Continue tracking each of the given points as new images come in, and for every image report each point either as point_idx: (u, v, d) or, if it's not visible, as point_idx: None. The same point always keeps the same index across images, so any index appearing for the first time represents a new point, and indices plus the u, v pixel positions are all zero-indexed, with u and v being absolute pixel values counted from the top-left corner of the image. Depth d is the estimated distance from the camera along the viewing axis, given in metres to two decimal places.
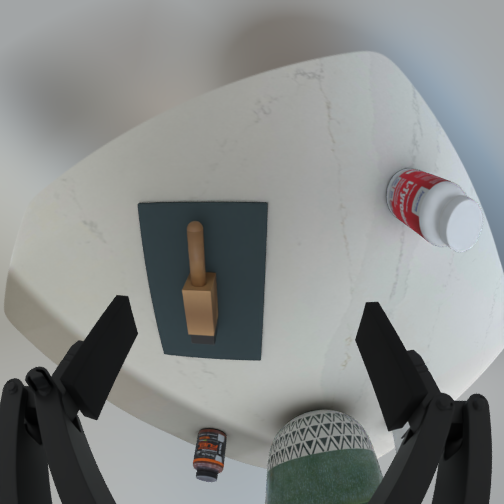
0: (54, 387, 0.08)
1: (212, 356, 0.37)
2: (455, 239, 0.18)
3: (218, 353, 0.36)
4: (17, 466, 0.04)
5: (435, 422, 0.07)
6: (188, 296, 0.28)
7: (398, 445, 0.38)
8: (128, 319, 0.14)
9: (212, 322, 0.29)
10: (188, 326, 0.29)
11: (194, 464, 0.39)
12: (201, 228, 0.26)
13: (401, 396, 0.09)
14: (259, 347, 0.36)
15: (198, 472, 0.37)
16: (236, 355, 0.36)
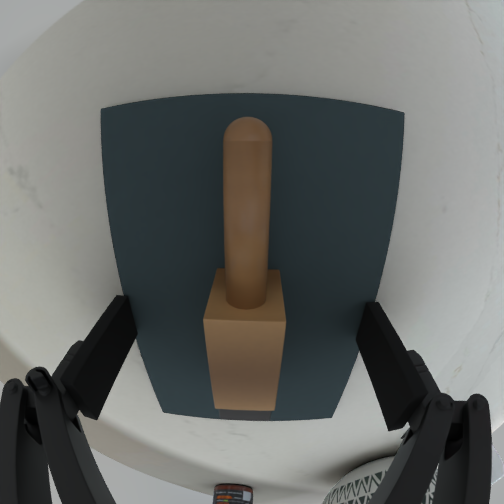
0: (54, 387, 0.08)
1: None
2: None
3: None
4: (17, 466, 0.04)
5: (435, 422, 0.07)
6: (220, 335, 0.10)
7: None
8: (128, 319, 0.14)
9: (276, 388, 0.11)
10: (216, 396, 0.12)
11: None
12: (270, 135, 0.08)
13: (401, 396, 0.09)
14: (336, 401, 0.18)
15: None
16: (293, 414, 0.19)
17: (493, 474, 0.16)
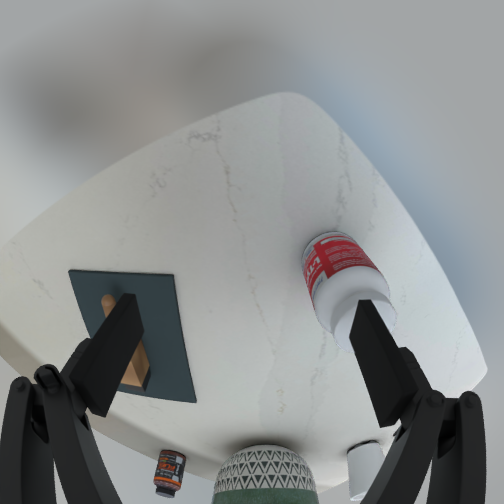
0: (63, 385, 0.08)
1: (153, 396, 0.36)
2: (349, 342, 0.17)
3: (158, 394, 0.36)
4: (22, 465, 0.04)
5: (426, 419, 0.07)
6: None
7: (350, 479, 0.38)
8: (135, 317, 0.14)
9: (136, 376, 0.29)
10: None
11: (154, 481, 0.38)
12: (112, 302, 0.26)
13: (392, 392, 0.09)
14: (192, 393, 0.35)
15: (157, 489, 0.37)
16: (173, 397, 0.36)
17: None
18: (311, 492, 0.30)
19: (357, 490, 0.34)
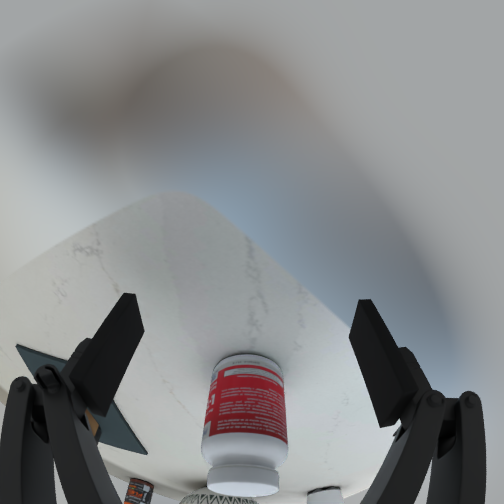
0: (63, 385, 0.08)
1: (110, 444, 0.32)
2: (228, 493, 0.13)
3: (113, 444, 0.32)
4: (22, 465, 0.04)
5: (426, 419, 0.07)
6: None
7: None
8: (135, 317, 0.14)
9: None
10: None
11: None
12: None
13: (392, 392, 0.09)
14: (141, 448, 0.31)
15: None
16: (126, 448, 0.32)
17: None
18: None
19: None
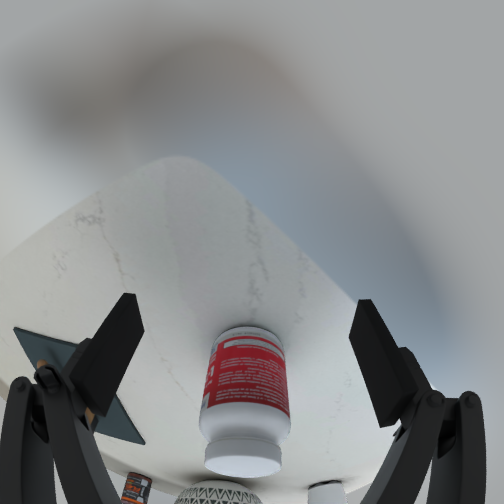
0: (63, 385, 0.08)
1: (107, 434, 0.32)
2: (227, 472, 0.13)
3: (110, 433, 0.32)
4: (22, 465, 0.04)
5: (426, 419, 0.07)
6: None
7: None
8: (135, 317, 0.14)
9: None
10: None
11: (121, 500, 0.35)
12: None
13: (392, 392, 0.09)
14: (138, 438, 0.31)
15: None
16: (124, 438, 0.32)
17: None
18: None
19: None
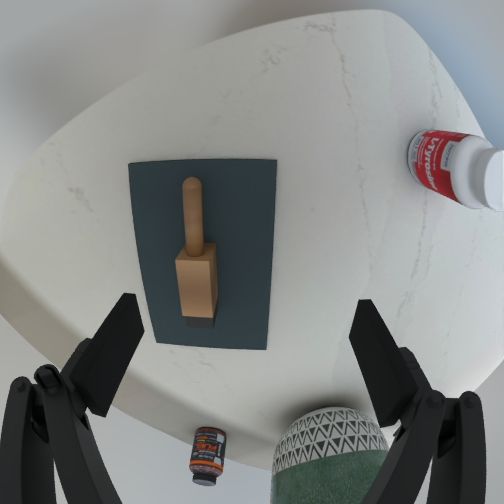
0: (63, 385, 0.08)
1: (210, 345, 0.32)
2: (493, 195, 0.13)
3: (218, 341, 0.32)
4: (22, 465, 0.04)
5: (426, 419, 0.07)
6: (182, 268, 0.23)
7: None
8: (135, 317, 0.14)
9: (210, 300, 0.25)
10: (182, 306, 0.25)
11: (190, 467, 0.35)
12: (199, 185, 0.22)
13: (392, 392, 0.09)
14: (265, 334, 0.31)
15: (195, 476, 0.33)
16: (238, 343, 0.32)
17: None
18: None
19: None
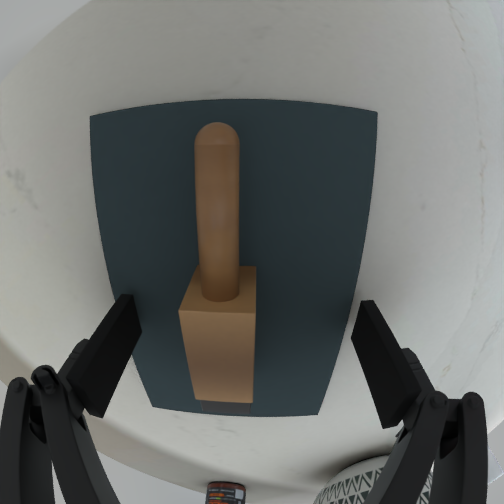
0: (60, 385, 0.08)
1: (236, 414, 0.19)
2: None
3: None
4: (20, 465, 0.04)
5: (429, 420, 0.07)
6: (195, 326, 0.11)
7: None
8: (133, 317, 0.14)
9: (251, 380, 0.12)
10: (195, 386, 0.12)
11: None
12: (236, 138, 0.09)
13: (395, 394, 0.09)
14: (320, 398, 0.18)
15: None
16: (279, 410, 0.19)
17: (488, 475, 0.17)
18: None
19: None
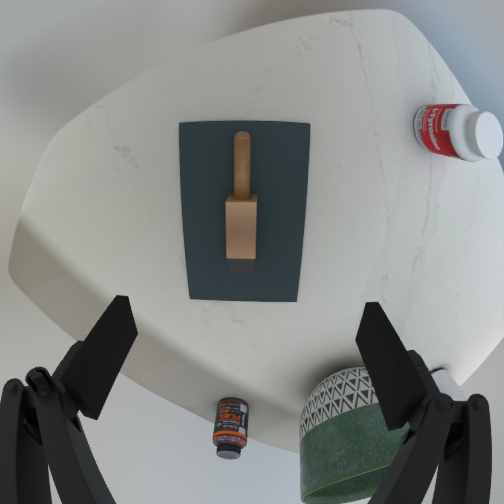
0: (54, 387, 0.08)
1: (244, 298, 0.35)
2: (483, 145, 0.16)
3: (251, 293, 0.35)
4: (17, 466, 0.04)
5: (435, 422, 0.07)
6: (231, 209, 0.26)
7: None
8: (128, 319, 0.14)
9: (255, 241, 0.28)
10: (227, 247, 0.28)
11: (214, 438, 0.38)
12: (249, 137, 0.25)
13: (401, 396, 0.09)
14: (296, 284, 0.34)
15: (219, 447, 0.36)
16: (271, 295, 0.35)
17: None
18: None
19: None
